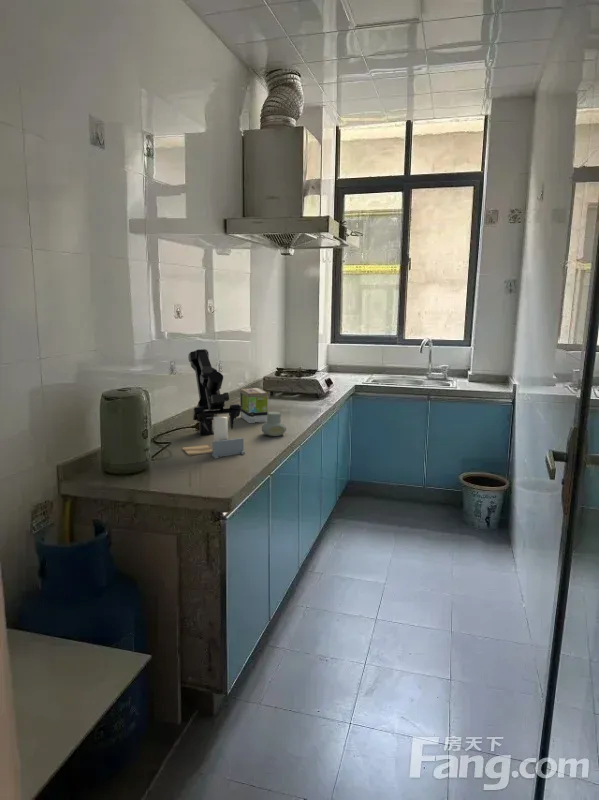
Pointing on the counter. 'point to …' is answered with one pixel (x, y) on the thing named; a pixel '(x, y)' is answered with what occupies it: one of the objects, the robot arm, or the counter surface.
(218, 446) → the screen
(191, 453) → the mat
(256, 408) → the tea box
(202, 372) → the robot arm
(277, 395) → the counter surface
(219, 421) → the canister
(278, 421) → the air freshener
